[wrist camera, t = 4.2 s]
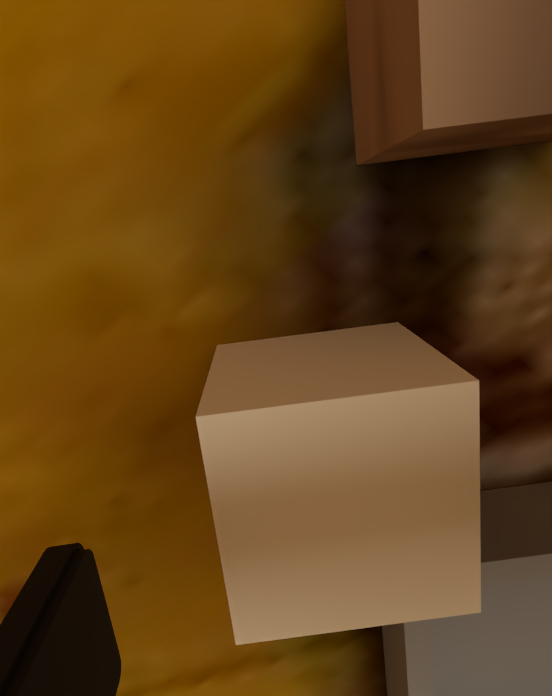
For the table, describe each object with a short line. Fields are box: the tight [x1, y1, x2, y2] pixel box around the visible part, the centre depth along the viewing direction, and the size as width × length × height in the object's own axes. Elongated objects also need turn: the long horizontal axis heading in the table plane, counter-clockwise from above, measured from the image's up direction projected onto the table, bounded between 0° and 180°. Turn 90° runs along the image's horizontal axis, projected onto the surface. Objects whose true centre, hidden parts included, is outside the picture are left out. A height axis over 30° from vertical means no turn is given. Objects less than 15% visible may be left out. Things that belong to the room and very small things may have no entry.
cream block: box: [196, 322, 481, 645], centre depth 14 cm, size 6×6×6 cm
